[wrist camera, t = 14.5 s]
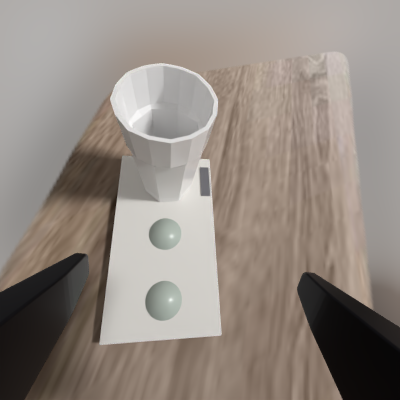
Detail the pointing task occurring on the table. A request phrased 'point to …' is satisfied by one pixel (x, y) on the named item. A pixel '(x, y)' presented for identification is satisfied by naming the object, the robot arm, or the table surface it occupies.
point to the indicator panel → (161, 263)
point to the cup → (165, 125)
